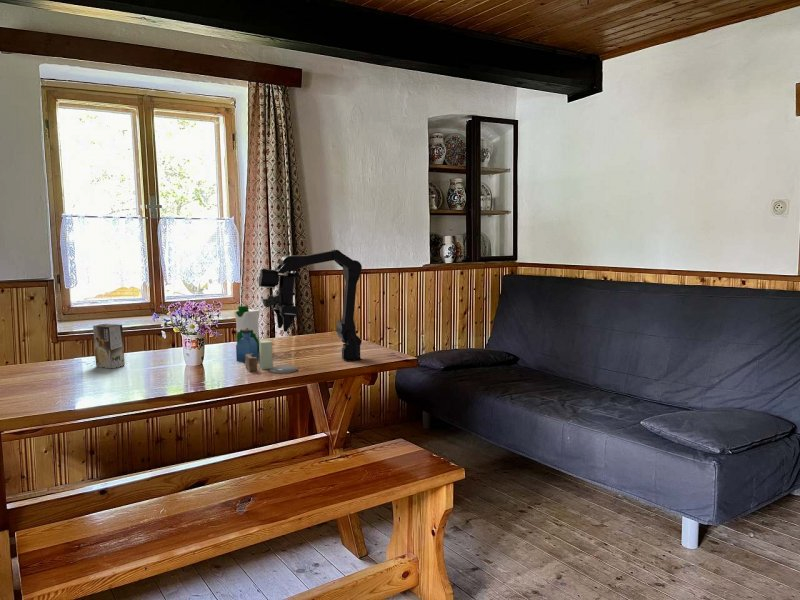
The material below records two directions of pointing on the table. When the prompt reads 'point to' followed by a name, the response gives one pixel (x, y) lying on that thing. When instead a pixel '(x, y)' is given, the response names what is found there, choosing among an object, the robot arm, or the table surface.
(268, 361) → the sage peg
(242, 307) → the milk carton
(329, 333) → the table surface
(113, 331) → the coffee box
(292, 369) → the stoneware coaster
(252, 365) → the walnut U-bracket
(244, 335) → the perfume bottle
